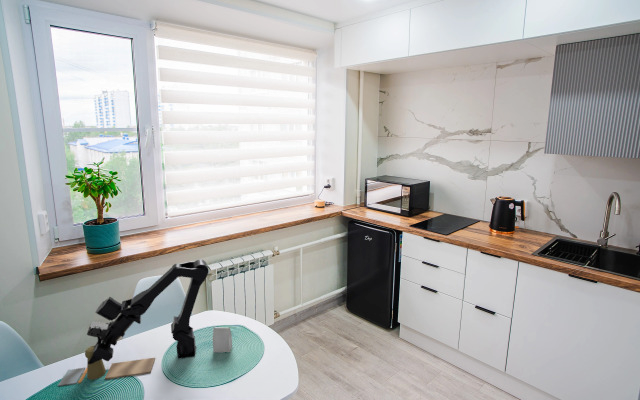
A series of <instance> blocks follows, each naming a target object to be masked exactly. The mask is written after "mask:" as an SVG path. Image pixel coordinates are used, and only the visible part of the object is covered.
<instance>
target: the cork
mask: <svg viewBox="0 0 640 400" xmlns="http://www.w3.org/2000/svg"><path fill="white" fill-rule="evenodd" d="M94 346H97V345H96V344H95V345H91V346H90V347H89V346H88V347H87V348H86V350H85V352H84V356H85V358H87V359H86V361H87V364H86V365H87V367H86V368H87V374H86V378H87V379H88V380H90V381H91V380H97V379H100V378H102V377H103V376H105V374H107V370H106V367H105V364H104V360H103V359H101V360H99V361H97V362H94V363H92V364H88V361H89V359H90V358H91V356H92V355H93V351H94Z"/></svg>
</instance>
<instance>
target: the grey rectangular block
mask: <svg viewBox="0 0 640 400" xmlns="http://www.w3.org/2000/svg"><path fill="white" fill-rule="evenodd" d="M231 331H232V330H231V327H219V326H218V327H215V326H213V329H212V350H213V351H212V352H213V353H223V352H230V353H231V351H232V349H233V334H232V332H231ZM231 348H232V349H231ZM230 350H231V351H230Z"/></svg>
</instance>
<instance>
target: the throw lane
mask: <svg viewBox="0 0 640 400" xmlns="http://www.w3.org/2000/svg"><path fill="white" fill-rule="evenodd" d="M155 361H156V357H147V358H141V359H136V360H135V359H134V360H127V361H120V362H113V363H111V365H110V367H109V368H108V371H107V372H106V375H105V376H104V380H111V379H112V380H113V379H118V378H125V377H131V376H139V375H144V374H145V375H147V374H151V373H152V370H153V367H154V364H155ZM86 376H87V367H78V368H72V369H67V371H66V372H65V374H64V376H63V377H62V378H61V380H60V381H59V383H58V384H57V387H63V386H70V385H76V384H81V383H82V382H83V380H84V379H85V377H86Z"/></svg>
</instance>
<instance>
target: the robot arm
mask: <svg viewBox="0 0 640 400" xmlns="http://www.w3.org/2000/svg"><path fill="white" fill-rule="evenodd" d="M209 270H210V269H209V267H208V264H207V262H206V261H205V260H203V259H196V260H195V261H194V260H193V261H186V262H182V263H174V264H173V265H172V266H171V267H170V268H169V269H168V270H167V271H166V272H165V273H164V274H163V275H161V277H160V278H158V279H157V280H156V281H155V282H154V283H153V284H152V285H150V287H149V288H147V289H144V291H141V292H139V293H138V294H136V295H135V296H133V297H132V298H129V299H126V300H123V301H122V302H119V301H117V300H116V299H114V298H113V297H111V296H109V297H108V298H106V299H105V300H103V301H102V302H101V304H100V305H99V306H98V307H97V309H96V311H95V314H97V315H99V316H100V317H102V318H104V319H106V320H108V321H110V322H102V321H97V320H93V321H91V322H90V324H89V327H88V330H87V332H86V335H87V336H90V337H93V338H97V342H96V343H95V345H97V346H95V345H93V346H94V351H93V355H92V356H91V358H90V359H89V361H88V364H92V363H94V362H97V361H99V360H101V359H102V360H103V361H105V362H110V361H111V359H113V357H114V356H113V355H114V348H113V347H112V346H114V347H115V346H116V345H117V343H118V341H119V339H120V338H121V337H122V338H124V336H125V334H126V332H127V330H128V329H129V328H130V327H132V325H133V324H134V322H135V323H137V324H138V325H140V324H141V322H142V316H143V315H144V314H145V313H146V312H147V311H148V309H150V307H151V305H152V304H153V302H154V300H155V299H157V297H158V296H159V295H160V294H162V293H163V291H165V290H166V289H167V288H168V287H169V286H170V285H172V283H174V282H175V280H177V279H178V278H181V277H182V278H189V279H190V281H189V285H188V288H187V290H186V294H185V297H184V300H183V303H182V307H181V309H180V312H179V314H178V316H173V321H172V323H171V324H170V330H171V331H170V333H171V334H172V339H173V340H175V341H176V342H177V343H176V355H177V358H178V359H185V358H192V357H195V356H196V355H197V354H196V351H197V349H198V348H197V345H196V337H195V334H194V328H193V327H191V326H190V321H191V320H190V319H191V316H192V314H193V313H192V312H193V310H194V307H195V303H196V301H197V298H198V294H199V291H200V288H201V286H202V284H204V282H205V280H206V279H207V277H208V275H209V272H210V271H209Z"/></svg>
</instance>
